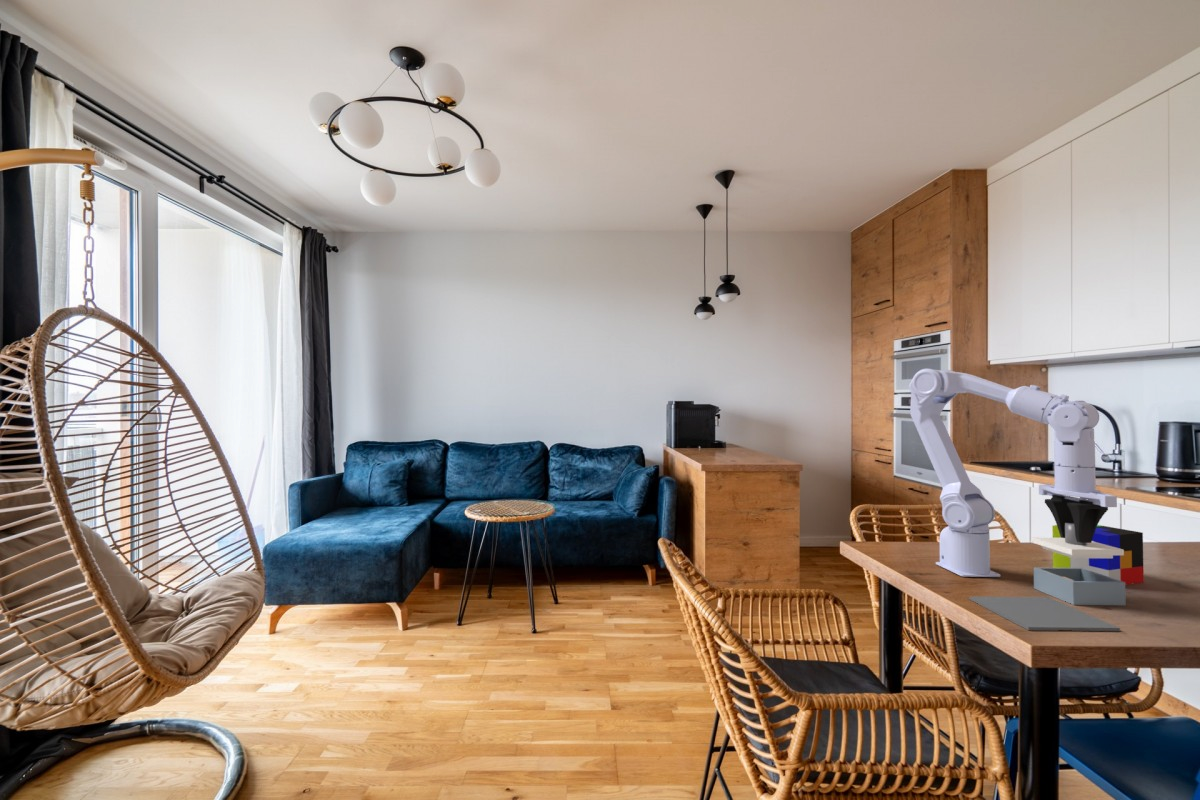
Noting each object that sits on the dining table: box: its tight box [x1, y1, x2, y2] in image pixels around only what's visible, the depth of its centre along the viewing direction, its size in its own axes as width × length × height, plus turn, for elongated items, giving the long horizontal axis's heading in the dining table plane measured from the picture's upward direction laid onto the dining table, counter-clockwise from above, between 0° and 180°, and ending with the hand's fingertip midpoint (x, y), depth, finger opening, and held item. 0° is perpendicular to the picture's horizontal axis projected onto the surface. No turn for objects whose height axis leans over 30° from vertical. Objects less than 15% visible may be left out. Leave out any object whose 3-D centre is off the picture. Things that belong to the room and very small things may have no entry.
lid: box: [1031, 523, 1124, 558], centre depth 100 cm, size 9×9×5 cm
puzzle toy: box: [1051, 524, 1145, 586], centre depth 112 cm, size 10×10×10 cm
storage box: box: [1033, 567, 1127, 606], centre depth 100 cm, size 9×9×4 cm
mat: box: [968, 596, 1121, 632], centre depth 91 cm, size 14×14×1 cm
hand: (1075, 540), depth 100 cm, fingers closed on lid, 3 cm apart
